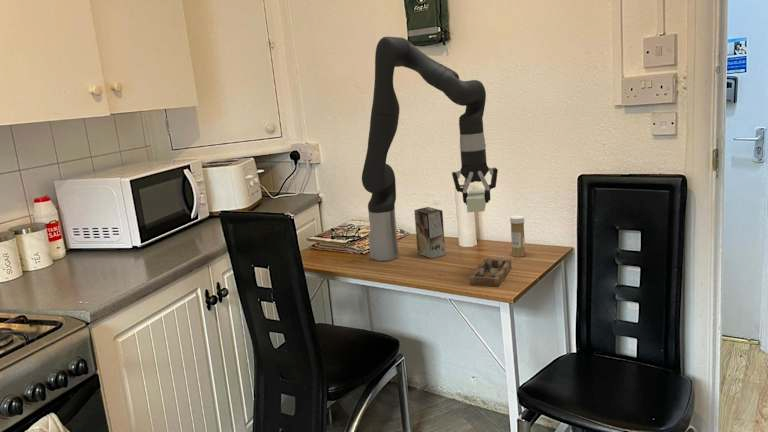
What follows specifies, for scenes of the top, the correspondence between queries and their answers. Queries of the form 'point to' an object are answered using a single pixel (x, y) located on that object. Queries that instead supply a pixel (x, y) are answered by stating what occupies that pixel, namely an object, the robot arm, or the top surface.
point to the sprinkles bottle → (517, 235)
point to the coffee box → (430, 232)
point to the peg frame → (491, 264)
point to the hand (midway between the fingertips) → (476, 203)
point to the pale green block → (476, 200)
